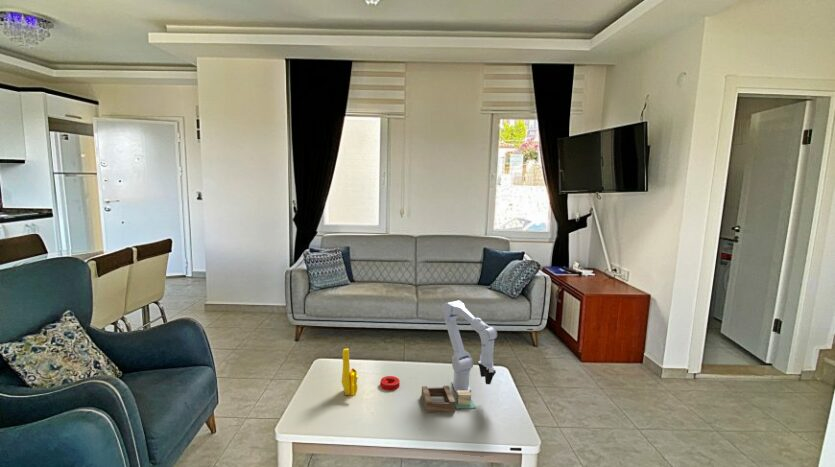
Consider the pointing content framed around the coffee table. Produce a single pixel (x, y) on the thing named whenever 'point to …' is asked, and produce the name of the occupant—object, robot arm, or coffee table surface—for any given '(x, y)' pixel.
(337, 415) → the coffee table surface
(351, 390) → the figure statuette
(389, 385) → the decorative ornament
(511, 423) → the coffee table surface
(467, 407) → the teal mat
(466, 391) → the maple block
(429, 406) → the slotted box
